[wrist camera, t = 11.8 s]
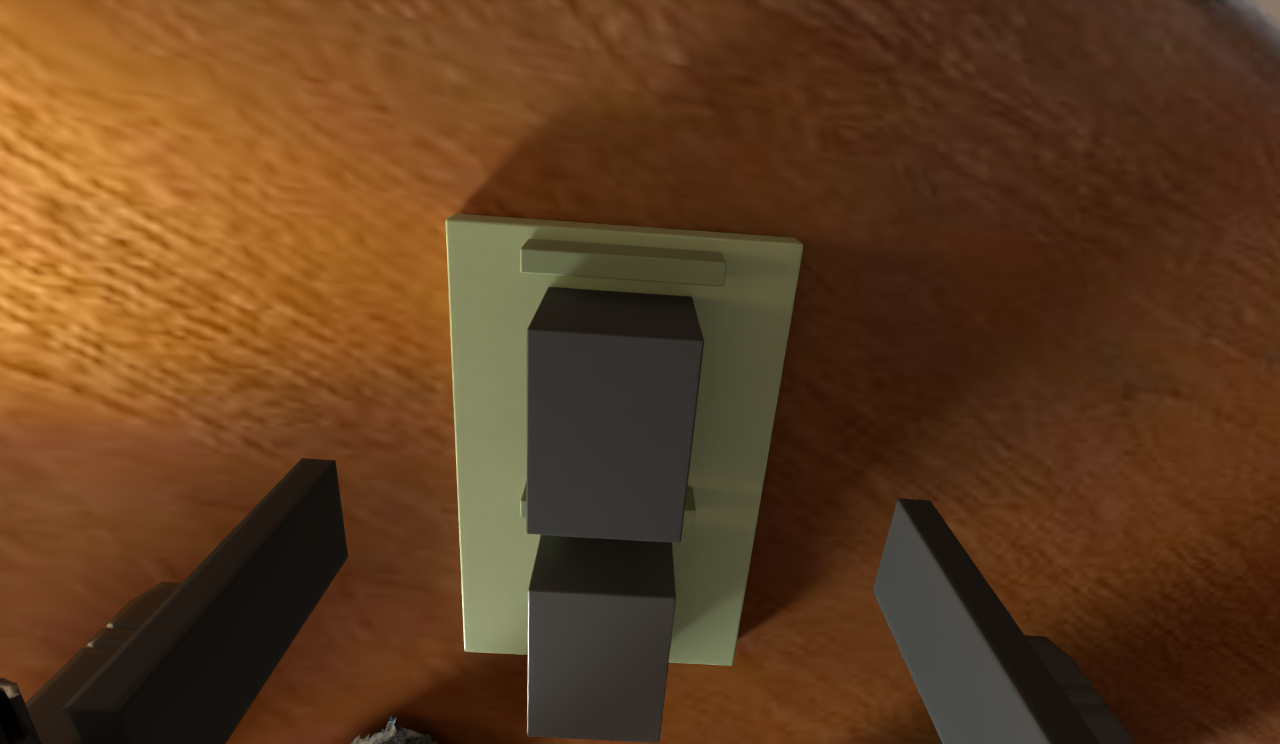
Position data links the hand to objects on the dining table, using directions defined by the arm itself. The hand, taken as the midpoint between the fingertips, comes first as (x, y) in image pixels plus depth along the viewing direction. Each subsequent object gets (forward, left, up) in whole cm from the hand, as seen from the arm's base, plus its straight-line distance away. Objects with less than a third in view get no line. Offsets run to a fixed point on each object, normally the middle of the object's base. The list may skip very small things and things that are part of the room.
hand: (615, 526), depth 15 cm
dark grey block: (0, 0, -9) cm, 9 cm away
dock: (+4, +1, -10) cm, 11 cm away
